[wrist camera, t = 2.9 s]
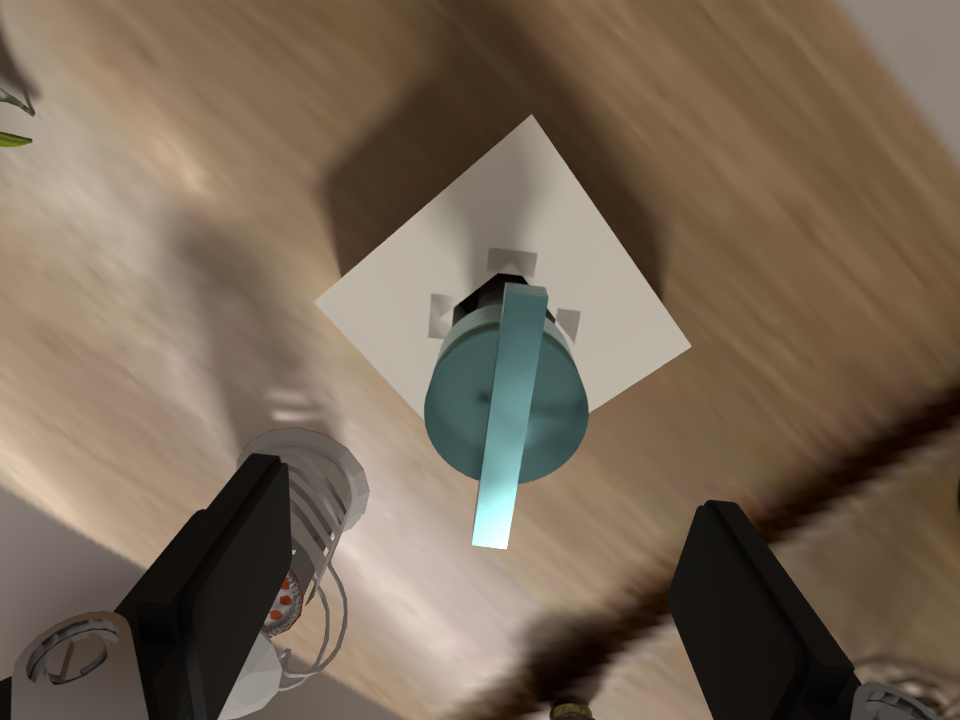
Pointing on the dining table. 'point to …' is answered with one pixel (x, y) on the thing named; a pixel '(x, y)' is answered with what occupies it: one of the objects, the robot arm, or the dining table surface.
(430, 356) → the block
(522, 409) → the teal strapped cylinder
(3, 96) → the passion flower
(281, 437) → the french press
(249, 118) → the dining table surface
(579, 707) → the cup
